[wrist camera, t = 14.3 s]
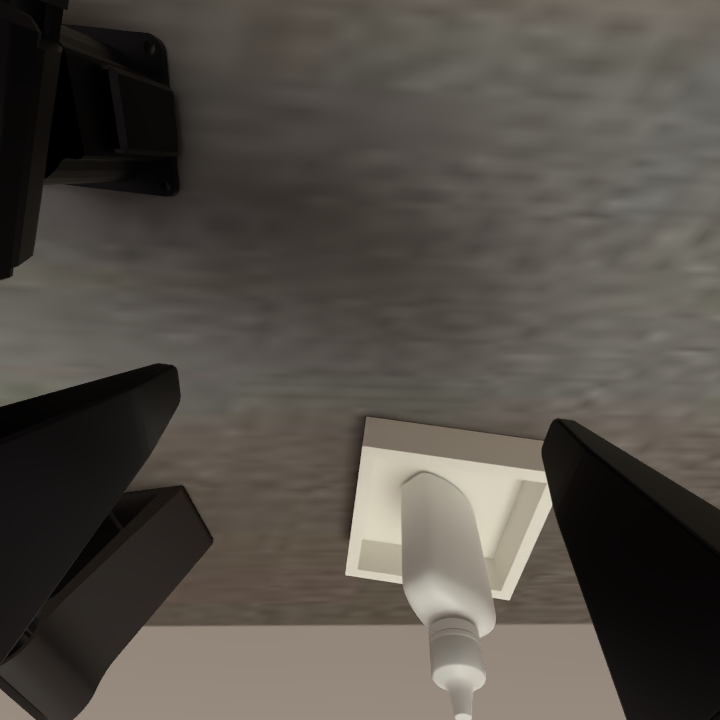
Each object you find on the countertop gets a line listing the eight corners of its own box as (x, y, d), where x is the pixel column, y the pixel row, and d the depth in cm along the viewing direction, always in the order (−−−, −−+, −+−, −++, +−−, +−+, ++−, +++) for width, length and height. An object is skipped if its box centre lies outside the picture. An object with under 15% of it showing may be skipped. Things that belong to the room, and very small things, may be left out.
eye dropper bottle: (416, 531, 28) (426, 750, 18) (396, 473, 26) (395, 684, 15) (476, 522, 27) (526, 748, 17) (461, 462, 25) (507, 678, 15)
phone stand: (184, 484, 29) (60, 667, 19) (215, 539, 32) (120, 728, 21) (84, 497, 31) (-83, 671, 20) (120, 548, 33) (-12, 727, 23)
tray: (349, 539, 30) (345, 574, 27) (366, 416, 25) (362, 445, 22) (499, 561, 30) (509, 600, 27) (547, 441, 25) (565, 474, 22)
